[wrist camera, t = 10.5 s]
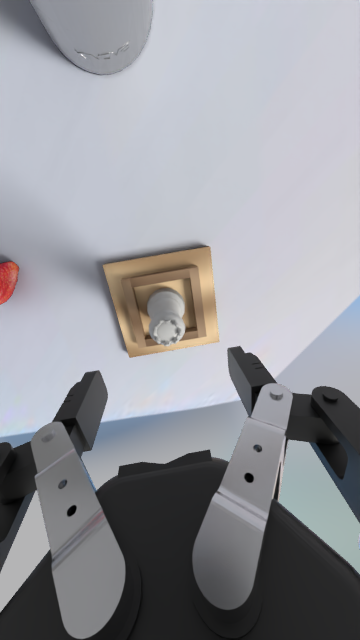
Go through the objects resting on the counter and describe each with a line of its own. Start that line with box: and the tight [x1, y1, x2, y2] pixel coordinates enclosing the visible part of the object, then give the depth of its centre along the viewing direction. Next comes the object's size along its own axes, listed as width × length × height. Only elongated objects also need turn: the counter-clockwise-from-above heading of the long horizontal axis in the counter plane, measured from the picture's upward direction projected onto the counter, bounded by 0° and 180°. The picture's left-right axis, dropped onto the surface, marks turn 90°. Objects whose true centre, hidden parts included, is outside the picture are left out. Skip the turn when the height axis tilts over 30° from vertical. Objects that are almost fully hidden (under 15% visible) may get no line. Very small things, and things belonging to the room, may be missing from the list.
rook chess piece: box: [147, 288, 185, 346], centre depth 22 cm, size 4×4×8 cm
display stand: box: [103, 246, 219, 358], centre depth 25 cm, size 12×12×2 cm
